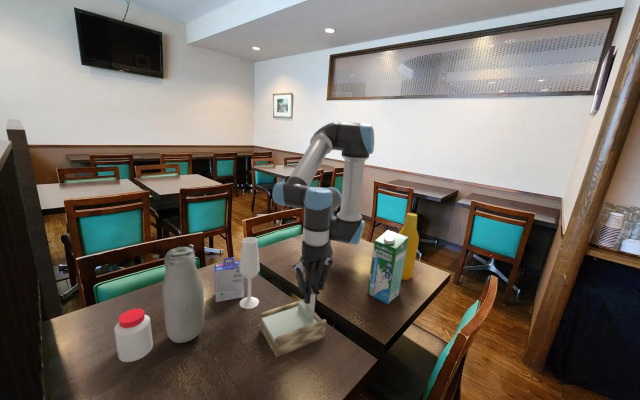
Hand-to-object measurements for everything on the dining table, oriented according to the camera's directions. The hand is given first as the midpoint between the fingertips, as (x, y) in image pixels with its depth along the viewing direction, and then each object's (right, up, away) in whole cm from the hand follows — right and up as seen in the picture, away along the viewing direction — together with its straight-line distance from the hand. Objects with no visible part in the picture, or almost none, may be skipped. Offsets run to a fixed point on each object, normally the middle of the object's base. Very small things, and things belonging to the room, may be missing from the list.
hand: (309, 310), depth 83 cm
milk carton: (+28, -3, +22) cm, 36 cm away
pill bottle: (-46, -6, -11) cm, 48 cm away
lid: (-6, -3, -3) cm, 7 cm away
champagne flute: (-22, -2, +11) cm, 25 cm away
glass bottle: (-36, -5, -6) cm, 37 cm away
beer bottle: (+40, 0, +38) cm, 55 cm away
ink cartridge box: (-30, -1, +14) cm, 33 cm away
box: (-5, -6, -1) cm, 8 cm away
